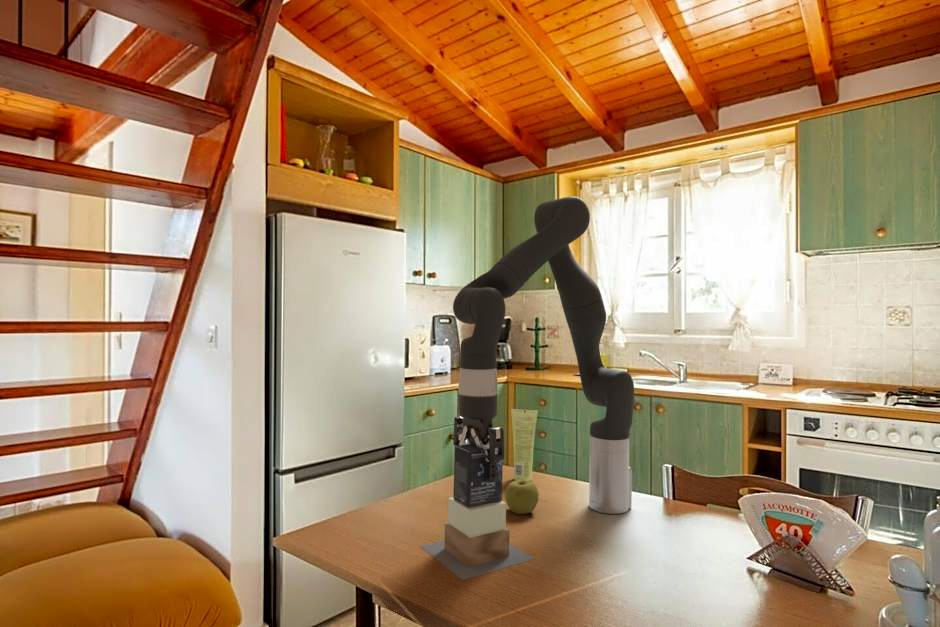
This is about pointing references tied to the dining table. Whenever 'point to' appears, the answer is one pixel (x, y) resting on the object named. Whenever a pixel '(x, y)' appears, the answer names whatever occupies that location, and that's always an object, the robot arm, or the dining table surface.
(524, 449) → the tube
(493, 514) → the block top
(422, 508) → the dining table surface
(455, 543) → the block base
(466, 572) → the mat
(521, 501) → the apple
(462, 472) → the box
